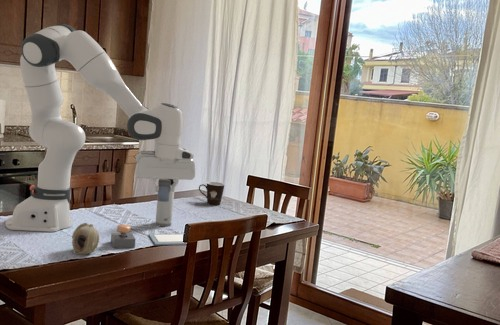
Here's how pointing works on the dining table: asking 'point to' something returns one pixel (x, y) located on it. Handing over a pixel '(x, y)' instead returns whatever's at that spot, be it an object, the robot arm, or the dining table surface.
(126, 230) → the button
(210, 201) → the coffee mug
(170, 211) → the travel mug
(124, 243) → the button housing
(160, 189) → the blue gray capped jar
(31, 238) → the dining table surface
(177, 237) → the board
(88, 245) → the beige rounded piece
